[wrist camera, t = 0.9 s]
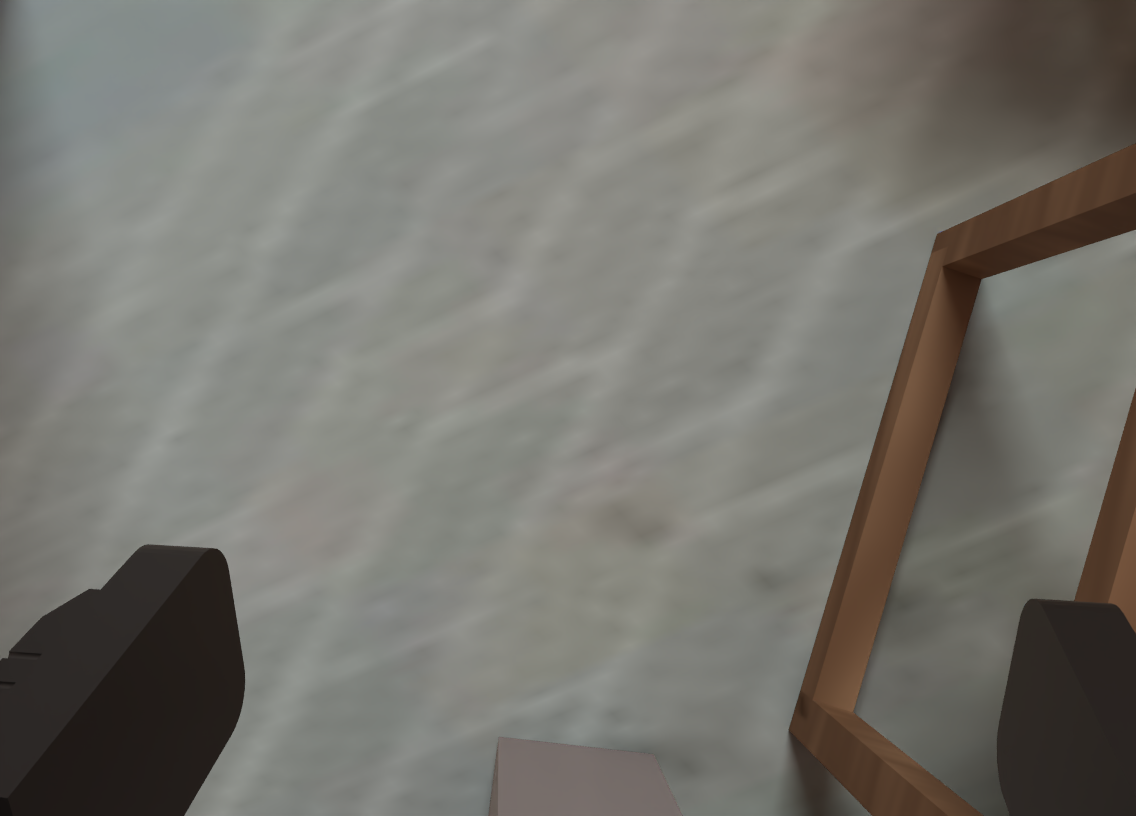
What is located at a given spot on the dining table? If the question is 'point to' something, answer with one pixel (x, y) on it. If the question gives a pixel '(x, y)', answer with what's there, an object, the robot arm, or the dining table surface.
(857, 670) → the frame
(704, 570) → the dining table surface
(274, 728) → the dining table surface
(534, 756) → the stone
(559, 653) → the dining table surface
